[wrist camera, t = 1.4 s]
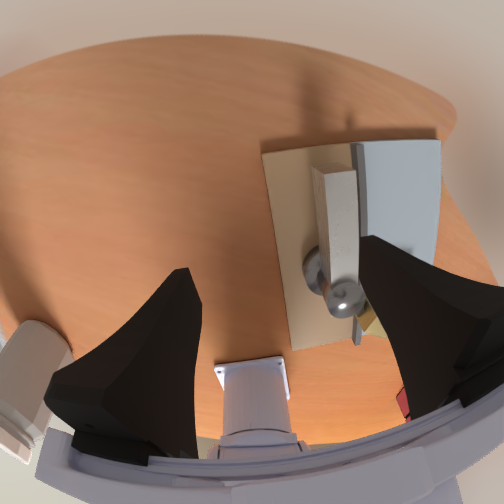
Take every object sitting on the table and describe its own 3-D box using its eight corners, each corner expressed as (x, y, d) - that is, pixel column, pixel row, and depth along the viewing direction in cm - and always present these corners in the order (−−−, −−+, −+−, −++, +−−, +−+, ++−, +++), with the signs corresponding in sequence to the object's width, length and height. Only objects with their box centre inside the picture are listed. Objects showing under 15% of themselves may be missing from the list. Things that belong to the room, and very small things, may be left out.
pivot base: (350, 281, 24) (355, 290, 22) (304, 290, 24) (307, 300, 23) (350, 237, 22) (356, 245, 20) (299, 247, 22) (303, 255, 21)
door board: (418, 313, 28) (426, 323, 26) (291, 346, 28) (293, 359, 27) (435, 138, 19) (448, 142, 17) (260, 153, 19) (263, 156, 17)
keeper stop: (353, 311, 26) (363, 332, 23) (364, 296, 25) (376, 316, 22) (374, 318, 26) (386, 338, 23) (385, 304, 25) (398, 324, 23)
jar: (53, 313, 26) (-14, 430, 10) (89, 367, 30) (50, 477, 14) (13, 315, 26) (-46, 407, 10) (46, 364, 30) (6, 454, 14)
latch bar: (348, 287, 22) (363, 314, 19) (317, 294, 22) (328, 323, 19) (344, 161, 17) (366, 171, 14) (305, 166, 17) (320, 177, 14)
